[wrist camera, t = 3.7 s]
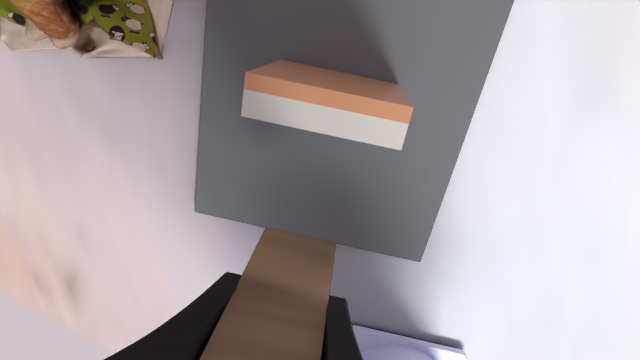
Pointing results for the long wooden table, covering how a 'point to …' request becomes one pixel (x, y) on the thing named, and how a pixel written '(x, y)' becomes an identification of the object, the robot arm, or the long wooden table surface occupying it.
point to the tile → (328, 103)
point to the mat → (334, 152)
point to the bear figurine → (87, 26)
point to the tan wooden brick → (277, 302)
